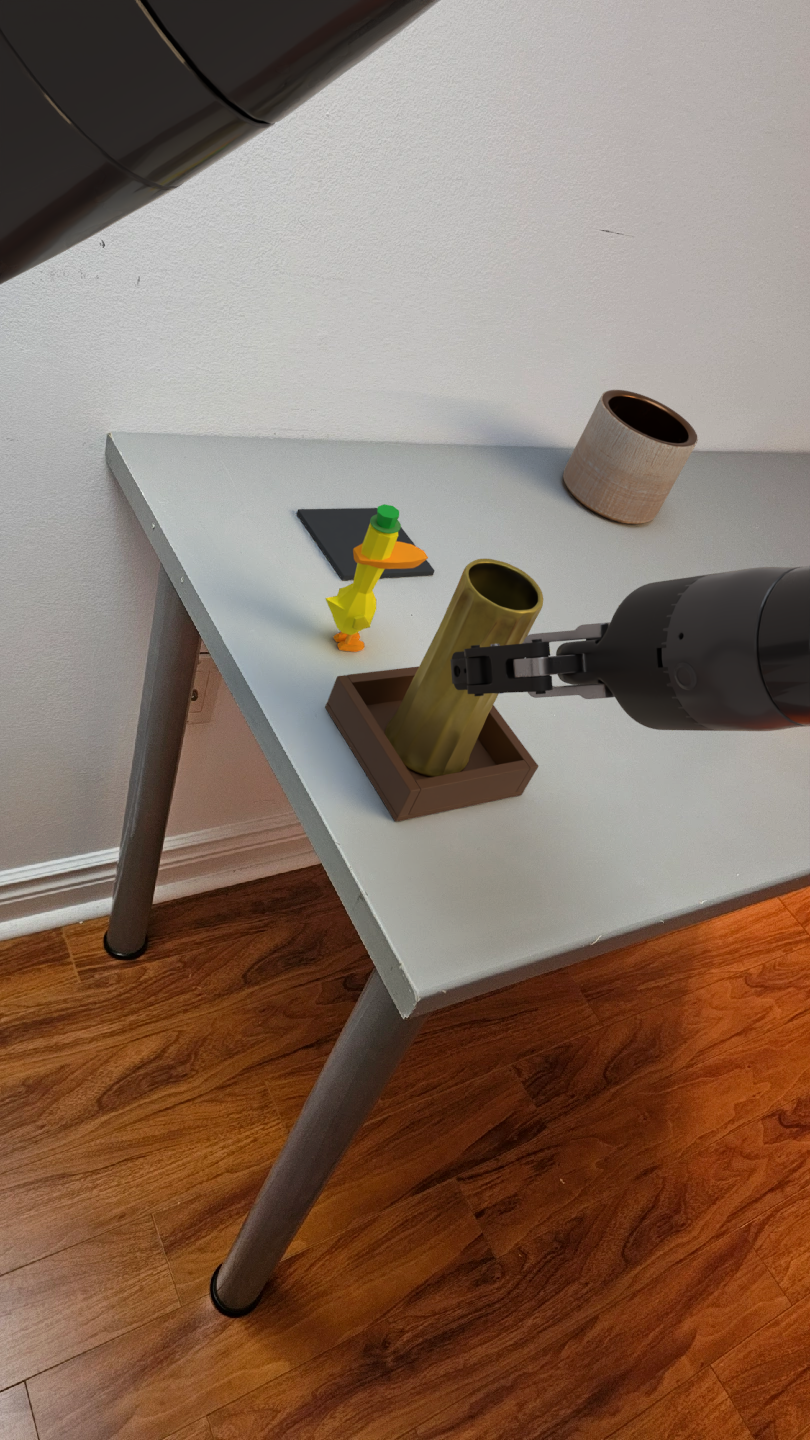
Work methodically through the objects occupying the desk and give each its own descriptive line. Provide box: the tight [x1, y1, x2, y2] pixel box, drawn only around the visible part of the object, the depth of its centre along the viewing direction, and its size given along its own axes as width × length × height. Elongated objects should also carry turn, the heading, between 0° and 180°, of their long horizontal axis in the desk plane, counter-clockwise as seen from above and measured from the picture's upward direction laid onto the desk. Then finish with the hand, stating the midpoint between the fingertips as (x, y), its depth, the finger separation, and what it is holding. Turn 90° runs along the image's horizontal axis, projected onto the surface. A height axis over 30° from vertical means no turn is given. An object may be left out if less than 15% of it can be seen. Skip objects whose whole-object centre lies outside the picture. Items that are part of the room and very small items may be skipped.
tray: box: [324, 665, 539, 823], centre depth 72 cm, size 11×11×3 cm
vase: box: [385, 558, 544, 777], centre depth 68 cm, size 6×6×14 cm
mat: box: [296, 507, 436, 581], centre depth 90 cm, size 9×9×1 cm
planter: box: [562, 389, 699, 525], centre depth 109 cm, size 11×11×10 cm
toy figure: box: [324, 503, 429, 653], centre depth 75 cm, size 7×4×12 cm, turn 114°
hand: (514, 665), depth 64 cm, fingers open, 8 cm apart
